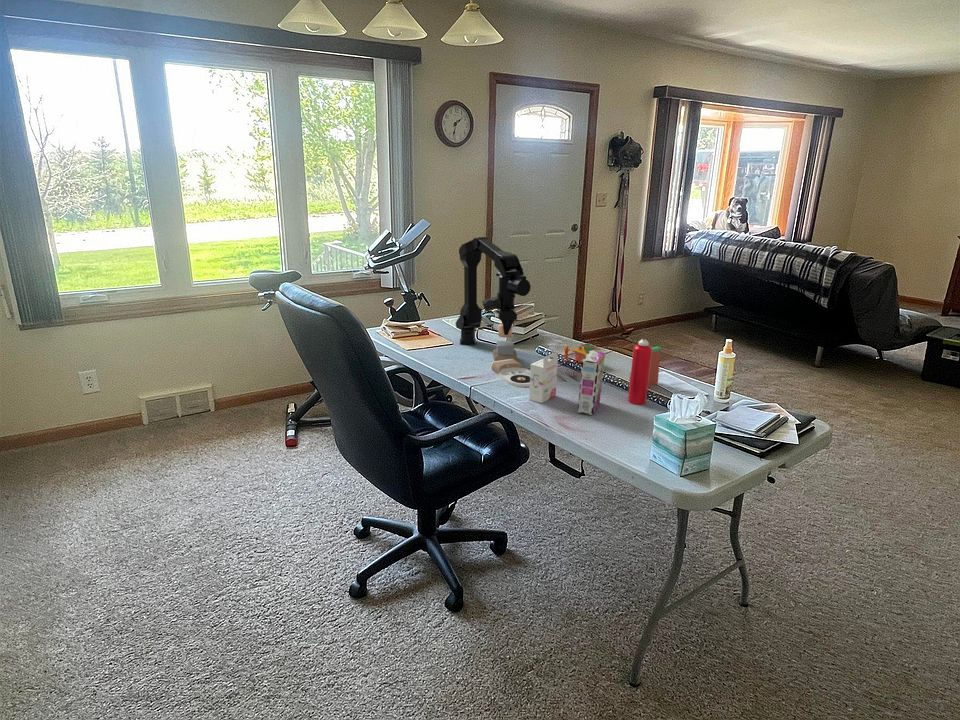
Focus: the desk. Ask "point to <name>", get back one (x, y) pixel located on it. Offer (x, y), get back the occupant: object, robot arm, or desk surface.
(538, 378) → the ink cartridge box
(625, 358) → the desk surface
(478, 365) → the desk surface
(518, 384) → the record player
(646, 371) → the bottle
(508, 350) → the slate block
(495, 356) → the walnut block
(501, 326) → the clay cylinder
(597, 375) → the candy bar box
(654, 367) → the toy building block set
